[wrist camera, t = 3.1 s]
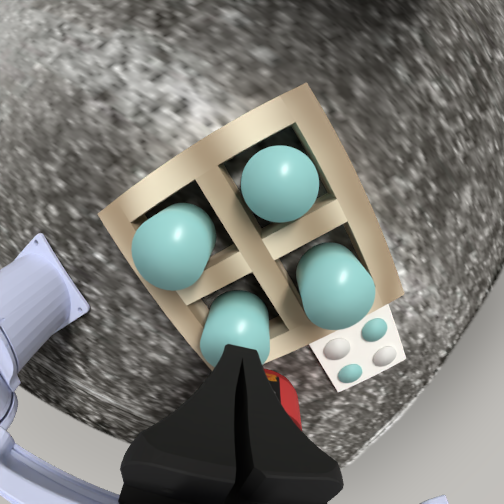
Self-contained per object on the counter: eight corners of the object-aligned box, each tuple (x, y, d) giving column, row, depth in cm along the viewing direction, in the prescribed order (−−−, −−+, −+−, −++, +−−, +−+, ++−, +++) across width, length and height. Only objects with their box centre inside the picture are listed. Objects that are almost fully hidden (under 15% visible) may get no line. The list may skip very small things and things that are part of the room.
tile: (337, 389, 25) (338, 393, 24) (307, 340, 23) (308, 344, 22) (404, 356, 23) (407, 359, 23) (385, 300, 21) (388, 304, 21)
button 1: (229, 348, 20) (224, 381, 17) (197, 306, 19) (186, 336, 16) (279, 326, 20) (282, 358, 16) (249, 279, 19) (247, 307, 15)
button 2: (176, 276, 19) (160, 301, 15) (142, 224, 18) (117, 240, 14) (228, 246, 18) (221, 269, 15) (193, 190, 17) (177, 200, 14)
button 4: (264, 220, 19) (265, 235, 16) (232, 166, 18) (226, 169, 15) (319, 190, 18) (332, 200, 15) (288, 135, 17) (295, 131, 14)
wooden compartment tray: (223, 360, 24) (220, 380, 21) (114, 206, 19) (97, 213, 17) (391, 279, 21) (404, 294, 18) (300, 91, 17) (306, 82, 14)
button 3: (312, 310, 19) (321, 341, 16) (285, 261, 18) (290, 286, 15) (365, 282, 18) (384, 308, 15) (342, 230, 17) (360, 249, 14)
